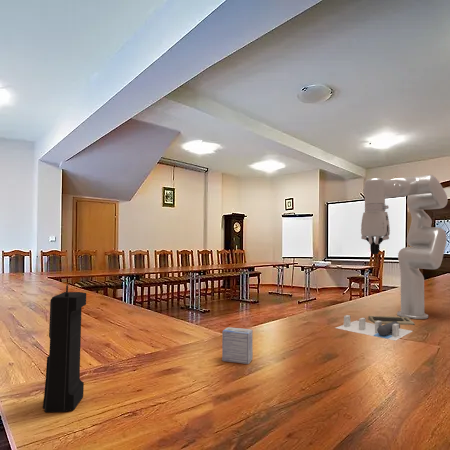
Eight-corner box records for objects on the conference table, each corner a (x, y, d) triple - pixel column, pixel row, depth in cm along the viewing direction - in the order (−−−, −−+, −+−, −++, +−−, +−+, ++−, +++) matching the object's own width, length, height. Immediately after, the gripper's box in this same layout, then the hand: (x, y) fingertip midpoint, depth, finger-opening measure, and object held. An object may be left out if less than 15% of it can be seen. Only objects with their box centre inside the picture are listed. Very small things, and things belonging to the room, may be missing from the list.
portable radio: (56, 395, 76) (60, 280, 77) (85, 394, 76) (88, 280, 77) (40, 413, 68) (45, 285, 69) (72, 412, 68) (76, 285, 69)
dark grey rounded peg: (391, 329, 131) (391, 320, 131) (400, 330, 129) (400, 322, 129) (375, 335, 121) (375, 325, 121) (385, 337, 119) (385, 327, 119)
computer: (374, 327, 140) (374, 319, 140) (367, 322, 148) (367, 314, 148) (415, 328, 138) (415, 320, 138) (406, 323, 146) (406, 315, 146)
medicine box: (252, 359, 99) (253, 329, 100) (248, 365, 95) (249, 333, 95) (226, 356, 102) (227, 326, 102) (221, 361, 98) (222, 330, 98)
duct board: (355, 322, 145) (355, 310, 145) (413, 333, 129) (413, 320, 129) (334, 330, 132) (334, 317, 132) (395, 343, 116) (395, 328, 117)
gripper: (397, 208, 138) (397, 254, 137) (360, 210, 149) (360, 253, 148) (390, 207, 133) (390, 255, 132) (352, 209, 143) (352, 253, 143)
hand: (374, 254), depth 140 cm, fingers closed
